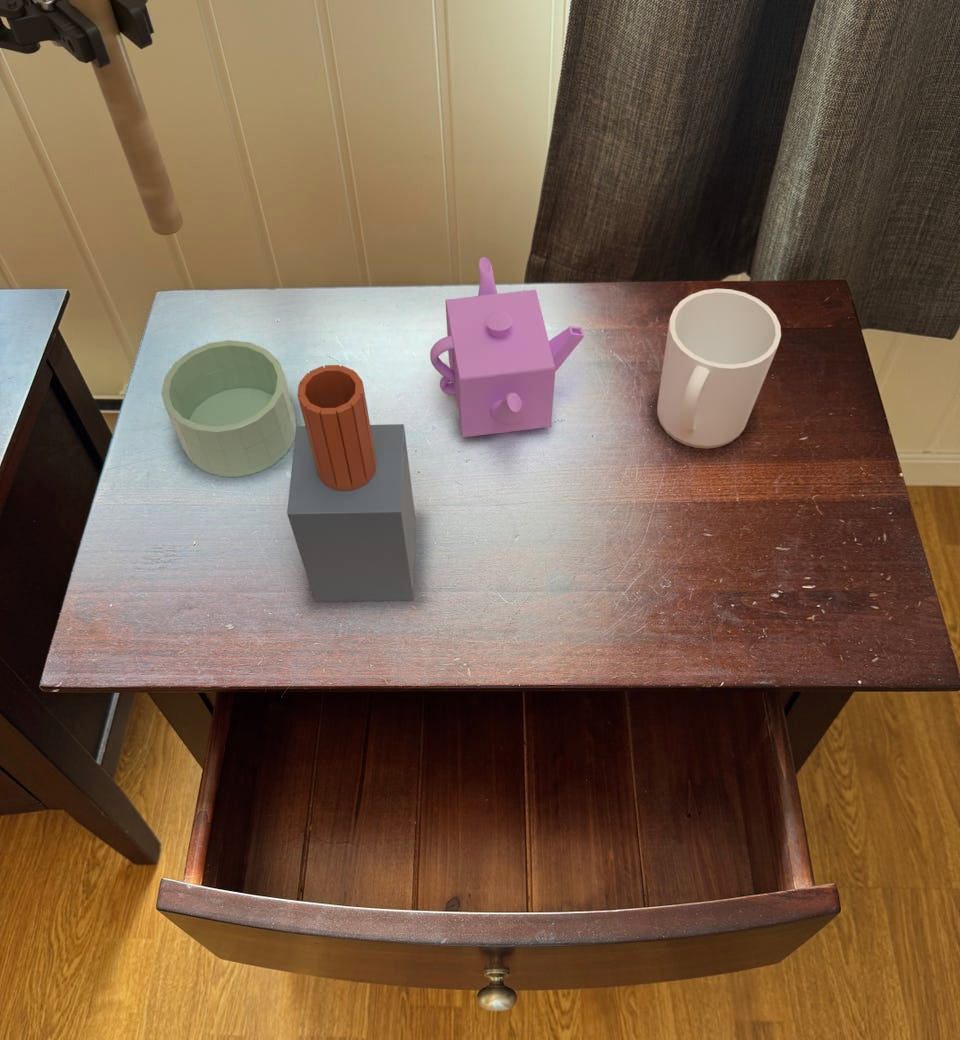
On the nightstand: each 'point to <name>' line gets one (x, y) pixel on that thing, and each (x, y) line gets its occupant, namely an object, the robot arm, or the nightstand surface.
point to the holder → (350, 494)
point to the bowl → (230, 408)
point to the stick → (132, 121)
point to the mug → (715, 365)
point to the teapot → (500, 359)
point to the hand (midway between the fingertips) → (121, 38)
